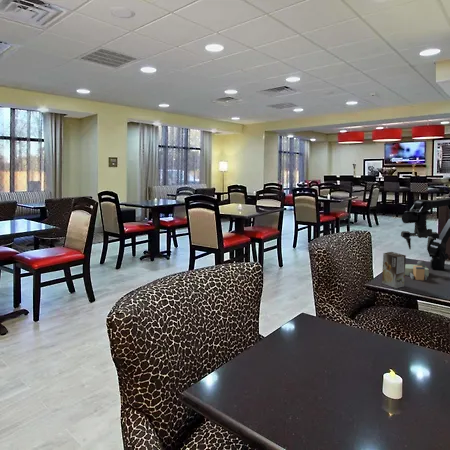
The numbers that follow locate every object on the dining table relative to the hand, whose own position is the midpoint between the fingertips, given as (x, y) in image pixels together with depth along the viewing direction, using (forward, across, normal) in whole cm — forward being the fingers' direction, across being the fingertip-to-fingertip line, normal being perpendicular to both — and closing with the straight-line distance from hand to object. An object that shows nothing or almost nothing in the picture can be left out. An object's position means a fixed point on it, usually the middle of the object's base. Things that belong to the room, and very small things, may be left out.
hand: (418, 249), depth 219 cm
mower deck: (+12, -3, -11) cm, 16 cm away
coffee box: (+12, -18, -30) cm, 37 cm away
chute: (+12, -3, -15) cm, 20 cm away
